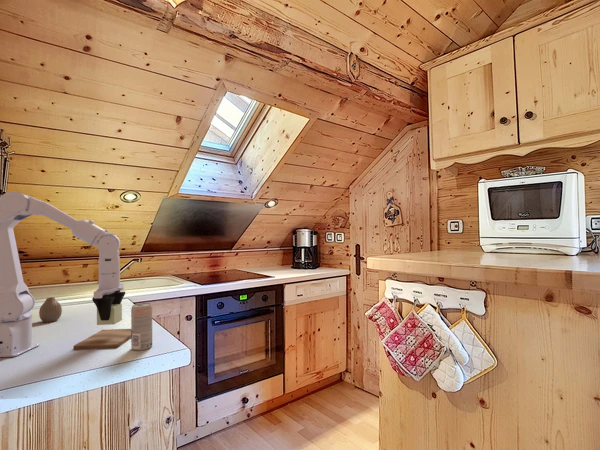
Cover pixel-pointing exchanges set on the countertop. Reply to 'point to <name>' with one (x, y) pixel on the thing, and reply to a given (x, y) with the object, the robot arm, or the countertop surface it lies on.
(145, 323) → the energy drink
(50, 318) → the vase
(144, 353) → the countertop surface
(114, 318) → the sage block
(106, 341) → the walnut board
